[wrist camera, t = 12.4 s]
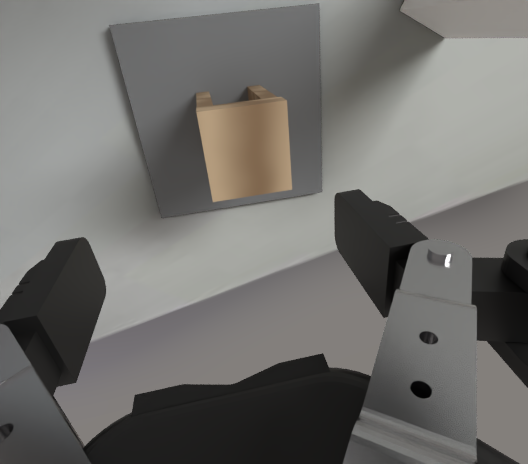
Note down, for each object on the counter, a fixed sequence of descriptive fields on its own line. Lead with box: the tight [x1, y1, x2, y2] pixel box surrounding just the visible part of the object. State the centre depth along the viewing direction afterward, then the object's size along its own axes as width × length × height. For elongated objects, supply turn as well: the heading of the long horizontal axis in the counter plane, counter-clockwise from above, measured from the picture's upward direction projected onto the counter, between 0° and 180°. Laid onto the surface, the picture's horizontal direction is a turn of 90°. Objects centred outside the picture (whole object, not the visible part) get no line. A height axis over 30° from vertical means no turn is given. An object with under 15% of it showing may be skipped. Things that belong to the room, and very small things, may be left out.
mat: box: [109, 3, 322, 218], centre depth 35 cm, size 18×18×1 cm
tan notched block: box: [196, 85, 292, 202], centre depth 29 cm, size 6×6×11 cm
